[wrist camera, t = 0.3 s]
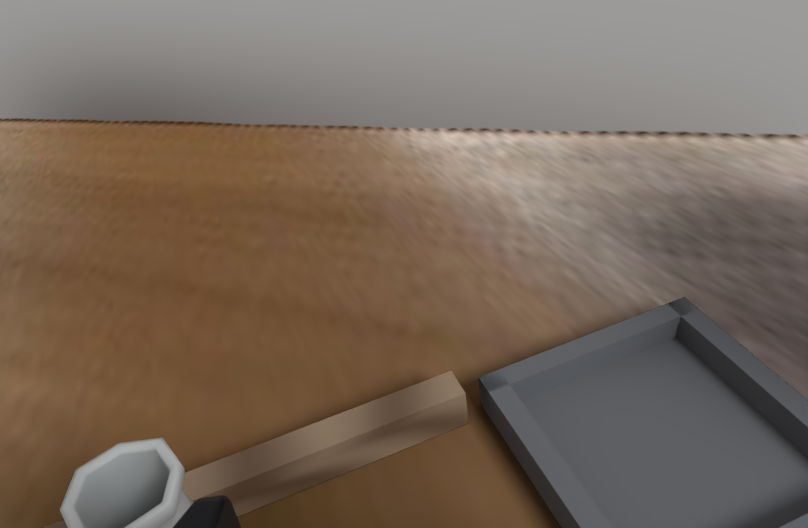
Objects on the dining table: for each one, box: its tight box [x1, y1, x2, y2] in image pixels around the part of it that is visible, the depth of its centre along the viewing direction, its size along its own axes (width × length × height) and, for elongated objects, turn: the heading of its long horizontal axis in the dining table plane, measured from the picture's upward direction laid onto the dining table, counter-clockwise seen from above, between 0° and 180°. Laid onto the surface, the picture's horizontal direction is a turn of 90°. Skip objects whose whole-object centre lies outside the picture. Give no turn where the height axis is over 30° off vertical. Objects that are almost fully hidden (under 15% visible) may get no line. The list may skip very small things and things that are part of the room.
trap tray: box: [479, 297, 808, 528], centre depth 28 cm, size 11×12×2 cm
